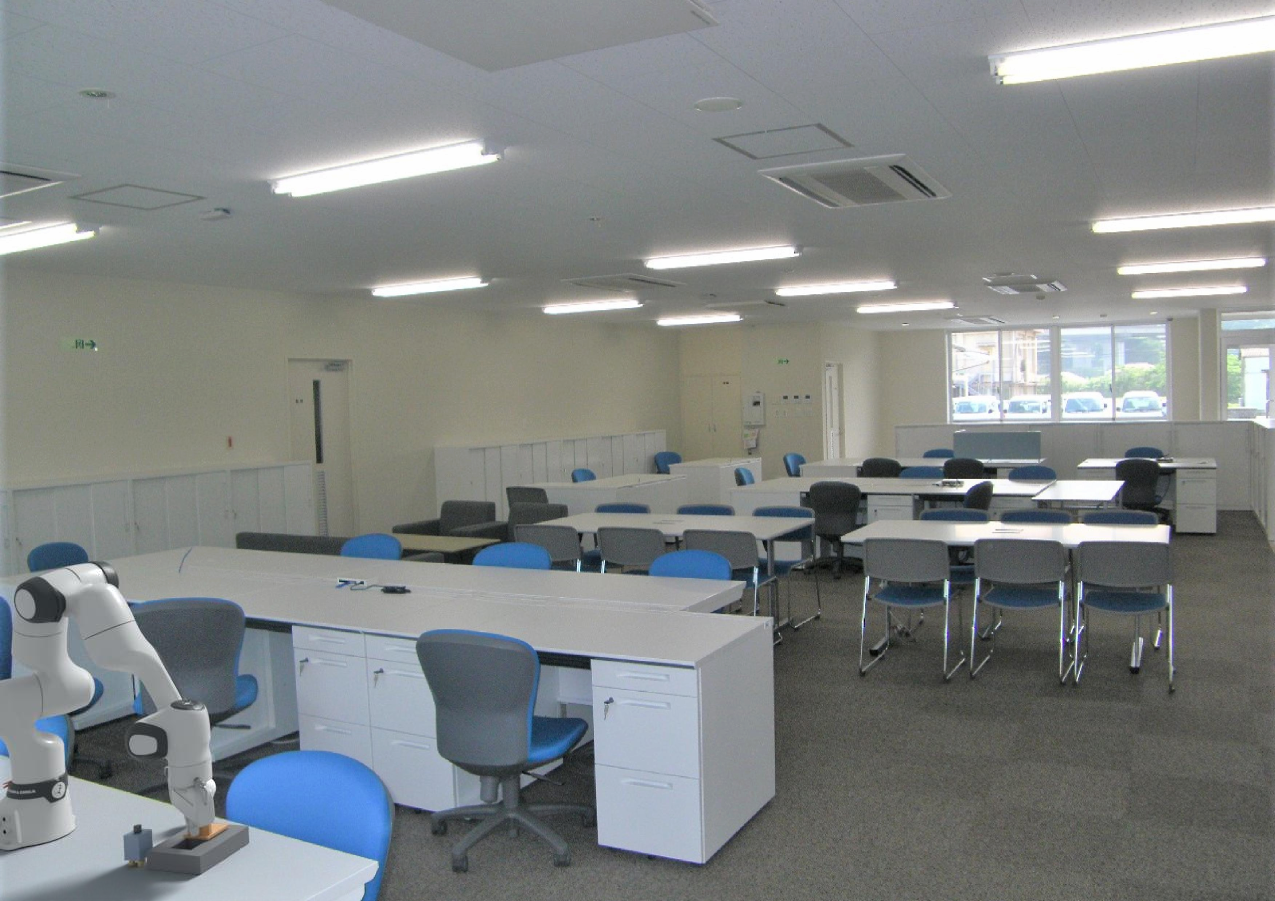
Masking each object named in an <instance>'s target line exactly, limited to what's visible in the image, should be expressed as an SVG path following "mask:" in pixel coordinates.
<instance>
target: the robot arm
mask: <svg viewBox="0 0 1275 901" xmlns="http://www.w3.org/2000/svg"><path fill="white" fill-rule="evenodd" d="M119 587H120V579H119V575H118V573H117V571H116V569H115V568H114V567H113V566H112V565H111V564H110V563H108V562H106V561H102V560H95V561H94V560H91V561H87V562H85V563H80V564H79V563H78V564H74V565H68V566H65V567H61V568H59V569H55V570H53V571H50V572H48V573H44V574H41V575H40V576H32V577H30V578H29V579H27V580H25V581H23V582H21V583H19V585H18V586H17V587H16V589H15V592H14V595H13V604H14V608H15V611H14V617H13V623H12V624H13V625H12V637H11V638H12V639H11V651H10V653H11V656H12V658H13V660H14V661H15V662H16V664H18V665H20V666H22V667H24V668H27V669H31V670H34V671H36V672H35V673H32V674H27V675H23V676H17V677H12V678H7V679H1V680H0V739H1V740H2V741H3V743H4V745H5V746H6V749H7V751H8V756H9V762H10V764H9V765H10V771H11V772H10V773H11V780H9V781H8V782H4V783H2V785H5V786H3V787H2V789H6V788H7V791H6V794H5V796H4V797H3V798H2V799H1V800H0V850H3V851H11V850H16V849H20V848H23V847H29V846H34V845H39V844H40V845H41V844H44V843H48V842H52V841H54V840H57V839H60V838H62V837H65V836H66V835H68V834H70V833H72V832H73V831H74V830H75V829H76V828H77V825H76V823H75V821H76V820H77V818H76V815H75V814H73V806H72V801H71V800H72V799H71V795H70V790H69V789H68V786H69V774H68V770H67V769H66V758H65V757H66V756H65V743H64V741H63V739H62V738H61V736H59V735H57V734H54V733H52V732H48V731H42V730H39V729H37V727H36V721H39V720H42V719H47V718H52V717H56V716H57V717H58V716H61V715H66V714H69V713H71V712H75V711H76V710H79V709H81V708H84V707H86V706H88V705H89V704H90V703H91V701H92V699H93V697H94V694H95V690H96V684H95V680H94V677H93V676H92V675H91V673H90V672H89V671H87V669H85V668H83V667H80V666H78V665H77V664H75V663H74V662H73V661H72V659H71V658H70V656H69V653H68V627H69V626H68V625H69V619H71V620H73V621H74V622H75V623H76V626H77V628H78V632H79V635H80V636H81V640H82V642H83V644H84V648H85V650H86V652H87V654H88V656H89V658H90V659H91V660H92V661H93V663H94V664H95V665H97V666H98V667H100V668H102V669H105V670H109V671H114V672H115V671H116V672H117V671H118V672H123V673H128V674H129V675H133V676H135V677H136V678H138V679H139V680H140V681H141V683H143V686H144V687H145V689H146V691H147V693H148V694H149V696H150V698H151V699H152V701H153V703H154V705H155V707H156V710H157V711H156V712H154V713H152V714H149V715H148V716H146V717H143V718H141V719H139V720H137V721H135V722H134V723H132V724H131V725H130V726H129V727H128V728H127V730H126V732H125V736H124V746H125V749H126V751H127V753H128V755H129V756H130V757H131V758H132V759H134V760H135V761H137V762H141V763H149V762H152V761H159V760H162V759H166V760H167V765H166V766H165V767H164V775H165V777H166V778H167V786H168V787H167V788H168V792H169V793H168V794H169V800H170V802H171V805H172V806H174V808H175V809H177V810H178V811H179V812H180V813H181V814H182V815H183V818H184V820H185V825H186V828H187V833H189V834H190V835H191V836H192V837H194V836H197V835H199V827H202V826H206V825H209V824H212V823H215V819H216V817H215V816H216V813H215V803H214V796H213V795H212V791H211V789H210V788H209V787H207V786H206V785H207V783H206V782H207V781H209V780H210V779H213V765H212V764H213V763H212V762H213V761H212V760H213V759H212V753H211V750H210V742H211V725H210V717H209V713H208V712H209V711H208V709H207V707H206V705H205V704H204V702H201V701H200V700H196V699H193V698H192V699H189V698H186V696H185V694H184V693H183V691H182V689H181V688H180V687H179V685H178V683H177V681H176V679H175V678H174V676H173V674H172V672H171V670H170V668H169V667H168V665H167V663H166V661H165V659H164V658H163V657H162V655H161V653H160V652H159V651H158V649H157V648H156V647H155V646H153V644H151V643H150V642H149V641H148V640H147V639H146V638H145V636H144V635H143V633H142V632H141V629H140V628H139V626H138V623H137V621H136V619H135V617H134V615H133V611H132V610H131V608H130V607H129V604H128V603H127V601H126V599H125V598H124V596H123V595H122V593H121V592H120V590H119Z"/></svg>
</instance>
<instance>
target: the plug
mask: <svg viewBox="0 0 1275 901" xmlns="http://www.w3.org/2000/svg"><path fill="white" fill-rule="evenodd" d="M142 826H143V825H142V824H134V826H133V830H130V831H129V832H127V833H126V834H123V837H122V838H123V850H124V851H123V854H124V856H123V857H124V858H123V859H124V861H128V864H129V865H128V866H129V867H132V866H135V865H136V864H137V865H136V866H137V867H140V868H141V867H143V866H144V863H145V862H147V853H146V851H147V850H149V849H151V848H153V847H154V844H153V842H154V841H153V829H150V828H142ZM136 862H137V863H136Z"/></svg>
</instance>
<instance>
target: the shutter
mask: <svg viewBox="0 0 1275 901" xmlns="http://www.w3.org/2000/svg"><path fill="white" fill-rule="evenodd" d="M216 823H217V822H213V823H212V824H209V825H206V826H202V827H199V835H197V836H194V837H192V836H191V835H190V834H189V833H186V834H184V835H183V838H192V839H203V840H209V839H210V838H212V837H214V836H215V835H217V834H219V833H220V832H222V831H224V830H225V829H227V828H228V827H229V825H227V824H228V823H219V824H216Z"/></svg>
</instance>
